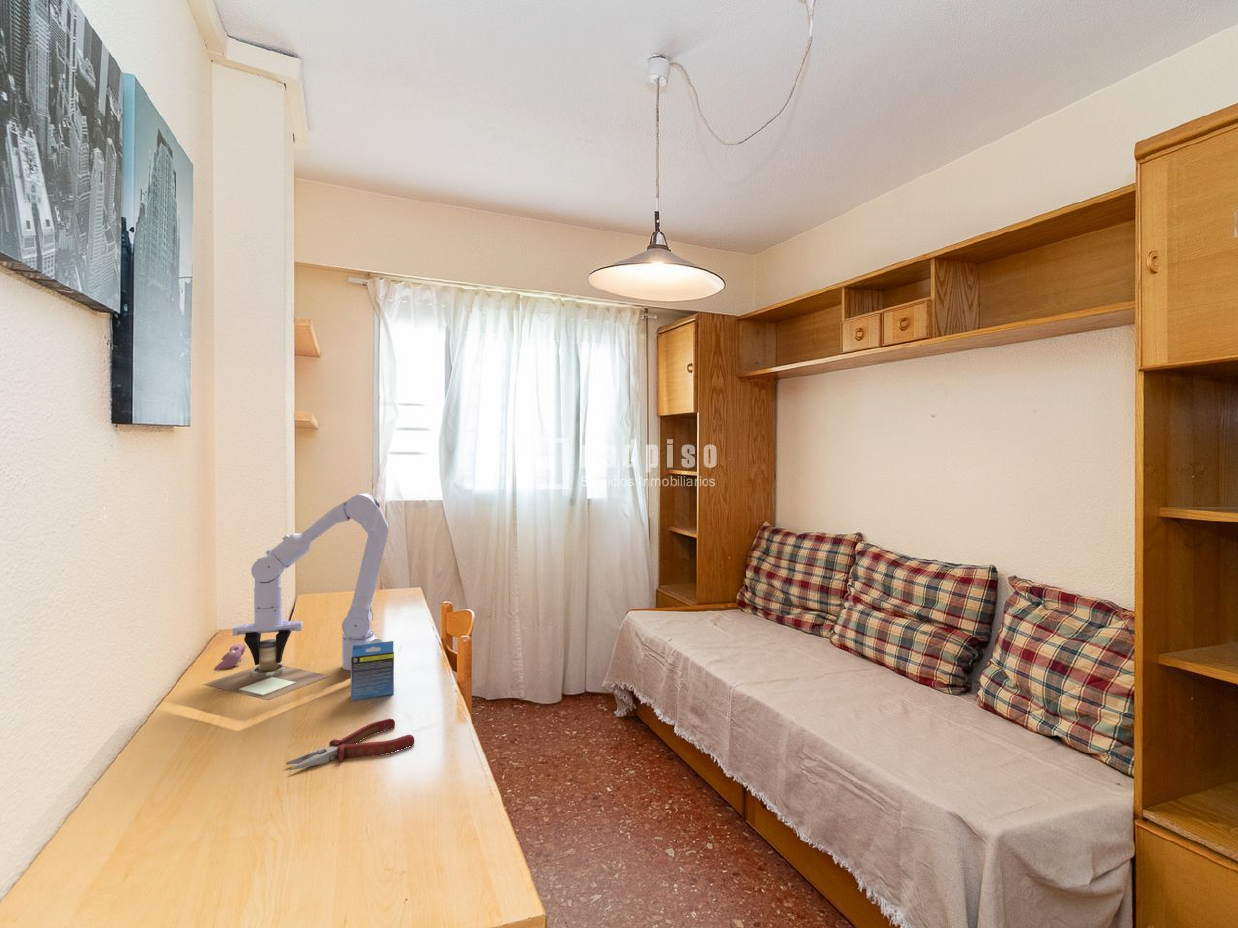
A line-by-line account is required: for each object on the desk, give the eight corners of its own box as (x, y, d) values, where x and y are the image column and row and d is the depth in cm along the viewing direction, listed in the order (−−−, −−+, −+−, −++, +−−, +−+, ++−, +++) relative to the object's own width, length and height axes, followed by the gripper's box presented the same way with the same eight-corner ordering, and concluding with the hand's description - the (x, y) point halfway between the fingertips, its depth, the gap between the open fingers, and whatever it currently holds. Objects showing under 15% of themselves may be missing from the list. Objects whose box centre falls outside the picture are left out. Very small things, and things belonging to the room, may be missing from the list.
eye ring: (291, 670, 148) (291, 665, 148) (264, 680, 141) (264, 674, 141) (271, 666, 151) (271, 661, 151) (244, 675, 144) (244, 670, 144)
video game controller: (230, 680, 149) (245, 653, 150) (210, 674, 148) (225, 647, 149) (238, 667, 159) (252, 642, 160) (219, 661, 157) (234, 636, 158)
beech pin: (281, 669, 147) (281, 640, 147) (266, 674, 143) (266, 644, 143) (270, 666, 149) (270, 638, 149) (254, 672, 145) (254, 642, 145)
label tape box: (392, 689, 140) (392, 635, 140) (394, 695, 137) (394, 640, 137) (350, 695, 137) (350, 640, 137) (351, 701, 133) (351, 645, 133)
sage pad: (296, 683, 139) (296, 682, 139) (263, 696, 132) (263, 694, 132) (272, 678, 143) (272, 676, 143) (238, 690, 135) (238, 688, 135)
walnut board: (331, 681, 145) (331, 675, 145) (268, 706, 130) (268, 699, 130) (267, 668, 154) (267, 662, 154) (202, 690, 139) (202, 684, 139)
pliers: (279, 760, 108) (279, 746, 108) (392, 727, 122) (392, 714, 121) (297, 787, 100) (297, 771, 100) (416, 748, 113) (416, 734, 113)
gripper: (305, 600, 152) (305, 654, 152) (238, 604, 148) (238, 660, 148) (299, 606, 145) (299, 663, 145) (229, 611, 141) (229, 669, 141)
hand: (268, 662), depth 146 cm, fingers closed on beech pin, 4 cm apart
